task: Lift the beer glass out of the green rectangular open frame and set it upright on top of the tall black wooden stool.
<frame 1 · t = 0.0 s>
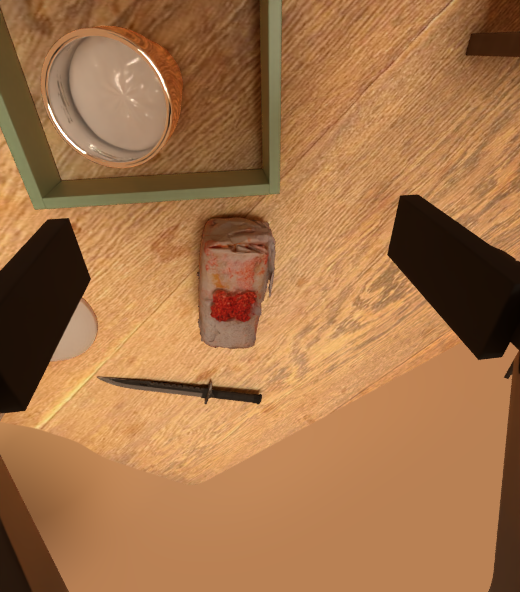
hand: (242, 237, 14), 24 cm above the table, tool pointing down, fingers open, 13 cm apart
food item: (231, 262, 42), on the table
green rectangular open frame: (147, 81, 31), on the table
knife: (182, 385, 54), on the table
beer glass: (148, 81, 31), resting in green rectangular open frame
candlestick: (43, 320, 44), on the table
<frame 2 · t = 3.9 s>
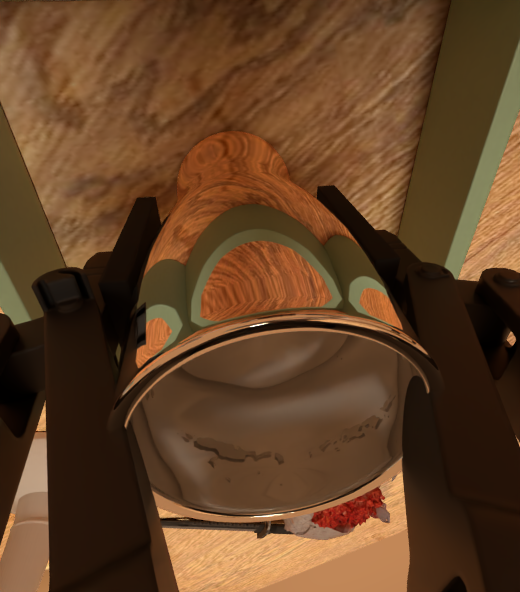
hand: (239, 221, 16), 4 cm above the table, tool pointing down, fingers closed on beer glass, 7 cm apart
food item: (316, 399, 31), on the table
green rectangular open frame: (234, 191, 19), on the table
knife: (230, 519, 42), on the table
beer glass: (234, 190, 19), resting in green rectangular open frame, touching gripper
candlestick: (56, 471, 32), on the table
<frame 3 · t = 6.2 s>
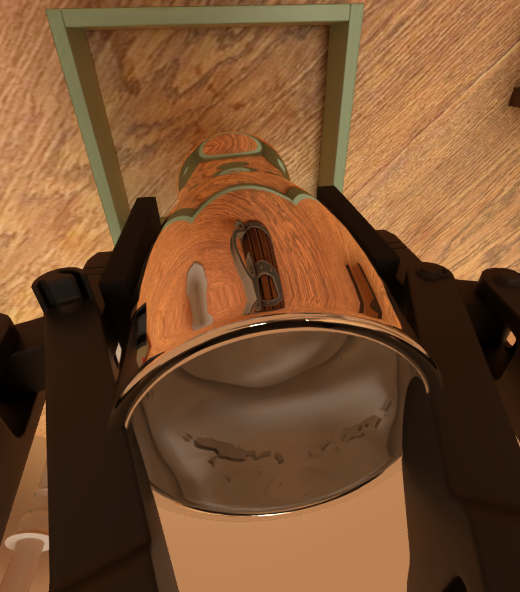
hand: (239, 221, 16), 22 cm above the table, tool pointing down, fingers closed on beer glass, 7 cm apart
green rectangular open frame: (220, 133, 33), on the table
beer glass: (234, 190, 19), point 17 cm above the table, touching gripper
candlestick: (100, 344, 46), on the table
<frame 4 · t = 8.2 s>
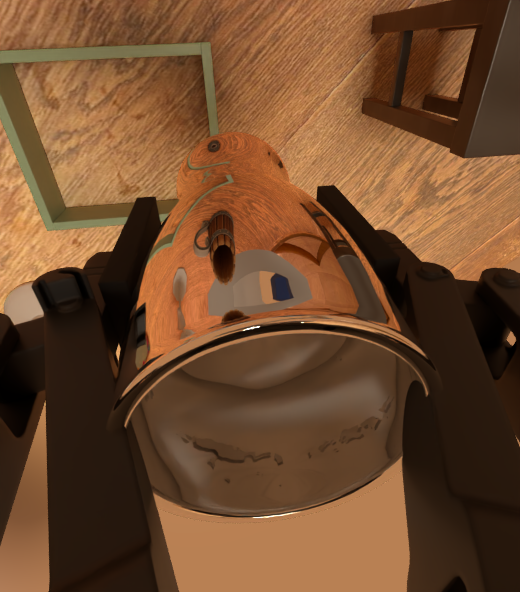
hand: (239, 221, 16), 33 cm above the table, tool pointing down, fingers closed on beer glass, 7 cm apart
stool: (405, 65, 42), on the table
green rectangular open frame: (127, 137, 42), on the table
beer glass: (233, 190, 19), point 28 cm above the table, touching gripper
candlestick: (52, 313, 56), on the table
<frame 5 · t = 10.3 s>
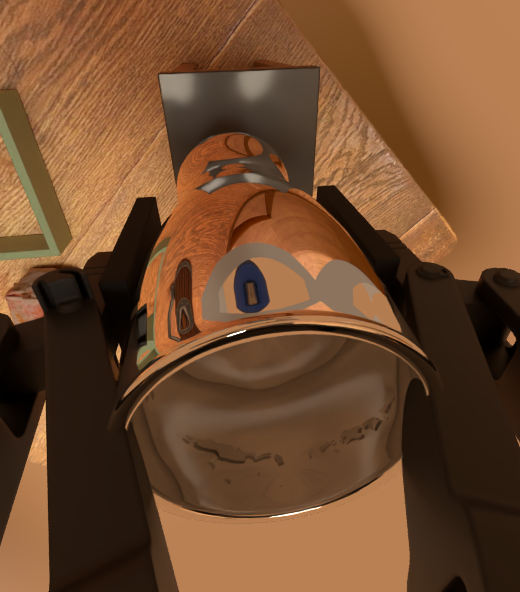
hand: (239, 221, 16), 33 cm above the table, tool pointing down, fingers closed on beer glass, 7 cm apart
stool: (228, 109, 42), on the table
food item: (61, 298, 54), on the table
beer glass: (234, 191, 19), point 28 cm above the table, touching gripper
when the fingers open (26 cm above the table, at t = 12.5 s): beer glass stays where it is, resting on stool.
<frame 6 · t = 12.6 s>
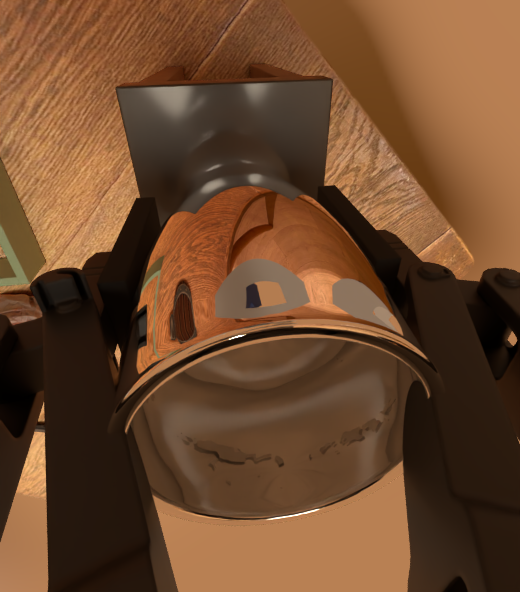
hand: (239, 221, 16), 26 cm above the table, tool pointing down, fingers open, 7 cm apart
stool: (221, 120, 37), on the table
food item: (36, 325, 49), on the table
beer glass: (234, 190, 19), point 22 cm above the table, touching stool
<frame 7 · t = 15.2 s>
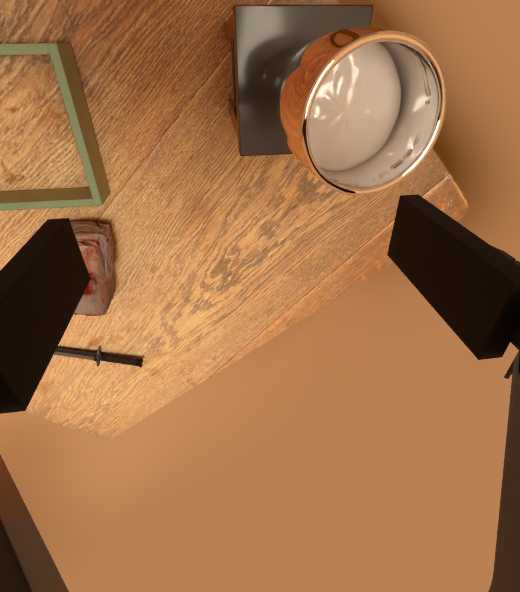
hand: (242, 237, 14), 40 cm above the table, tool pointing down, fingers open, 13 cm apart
stool: (264, 70, 45), on the table
food item: (95, 253, 57), on the table
green rectangular open frame: (5, 129, 45), on the table
knife: (78, 350, 69), on the table
beer glass: (300, 88, 28), point 22 cm above the table, touching stool
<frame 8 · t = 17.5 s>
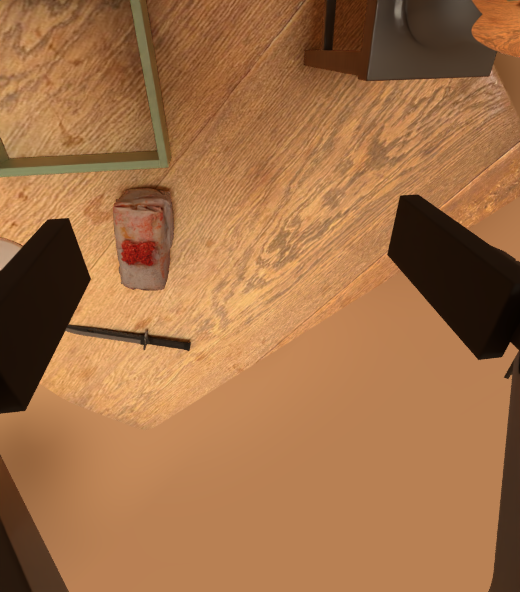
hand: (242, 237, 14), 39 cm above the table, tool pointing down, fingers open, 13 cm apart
stool: (345, 15, 42), on the table
food item: (150, 226, 54), on the table
green rectangular open frame: (66, 85, 42), on the table
knife: (124, 333, 66), on the table
candlestick: (3, 272, 55), on the table
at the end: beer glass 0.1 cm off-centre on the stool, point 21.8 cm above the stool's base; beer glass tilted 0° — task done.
